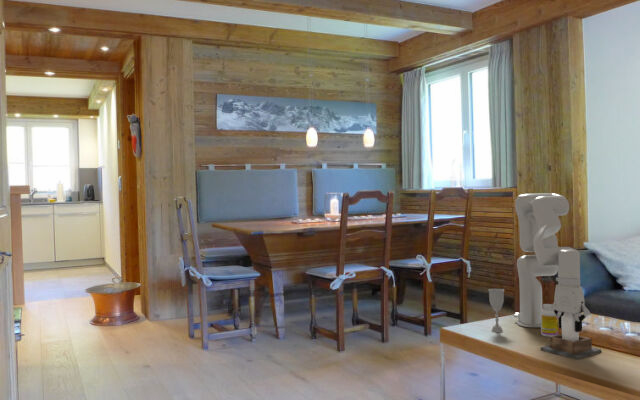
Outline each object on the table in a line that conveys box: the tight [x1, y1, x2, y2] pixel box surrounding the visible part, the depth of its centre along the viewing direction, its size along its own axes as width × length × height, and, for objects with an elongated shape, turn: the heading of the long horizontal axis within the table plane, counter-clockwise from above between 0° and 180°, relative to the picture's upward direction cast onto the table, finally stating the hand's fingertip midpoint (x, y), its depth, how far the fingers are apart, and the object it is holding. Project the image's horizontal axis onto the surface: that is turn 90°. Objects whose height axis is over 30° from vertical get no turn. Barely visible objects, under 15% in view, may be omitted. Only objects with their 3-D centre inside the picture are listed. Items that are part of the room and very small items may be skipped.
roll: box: [561, 313, 580, 342], centre depth 203 cm, size 6×12×6 cm
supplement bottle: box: [540, 303, 559, 338], centre depth 225 cm, size 7×7×13 cm
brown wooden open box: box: [540, 333, 602, 360], centre depth 203 cm, size 15×15×5 cm
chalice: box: [487, 288, 505, 333], centre depth 234 cm, size 7×7×18 cm
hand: (570, 329), depth 203 cm, fingers closed on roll, 5 cm apart
